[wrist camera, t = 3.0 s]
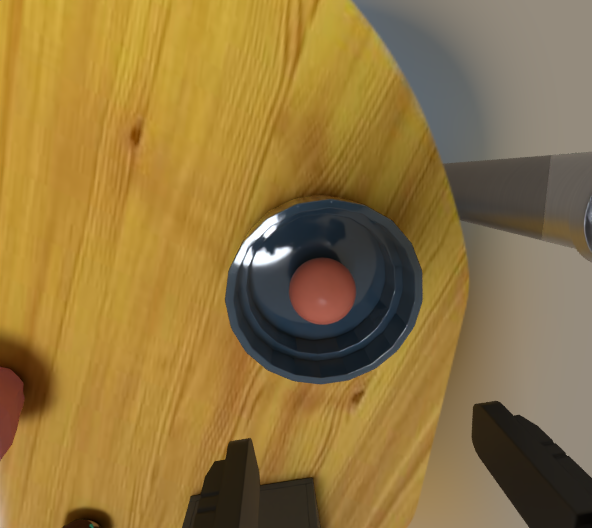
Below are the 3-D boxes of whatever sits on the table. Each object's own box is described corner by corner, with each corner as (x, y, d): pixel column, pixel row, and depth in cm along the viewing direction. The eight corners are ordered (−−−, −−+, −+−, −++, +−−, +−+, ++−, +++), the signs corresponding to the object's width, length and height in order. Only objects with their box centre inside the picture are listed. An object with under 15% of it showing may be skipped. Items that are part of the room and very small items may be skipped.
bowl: (393, 183, 24) (421, 185, 19) (399, 336, 28) (423, 369, 23) (220, 208, 24) (205, 216, 19) (251, 358, 28) (246, 396, 23)
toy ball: (345, 246, 25) (361, 264, 20) (350, 302, 26) (366, 332, 21) (283, 255, 25) (284, 275, 20) (292, 311, 26) (295, 342, 21)
